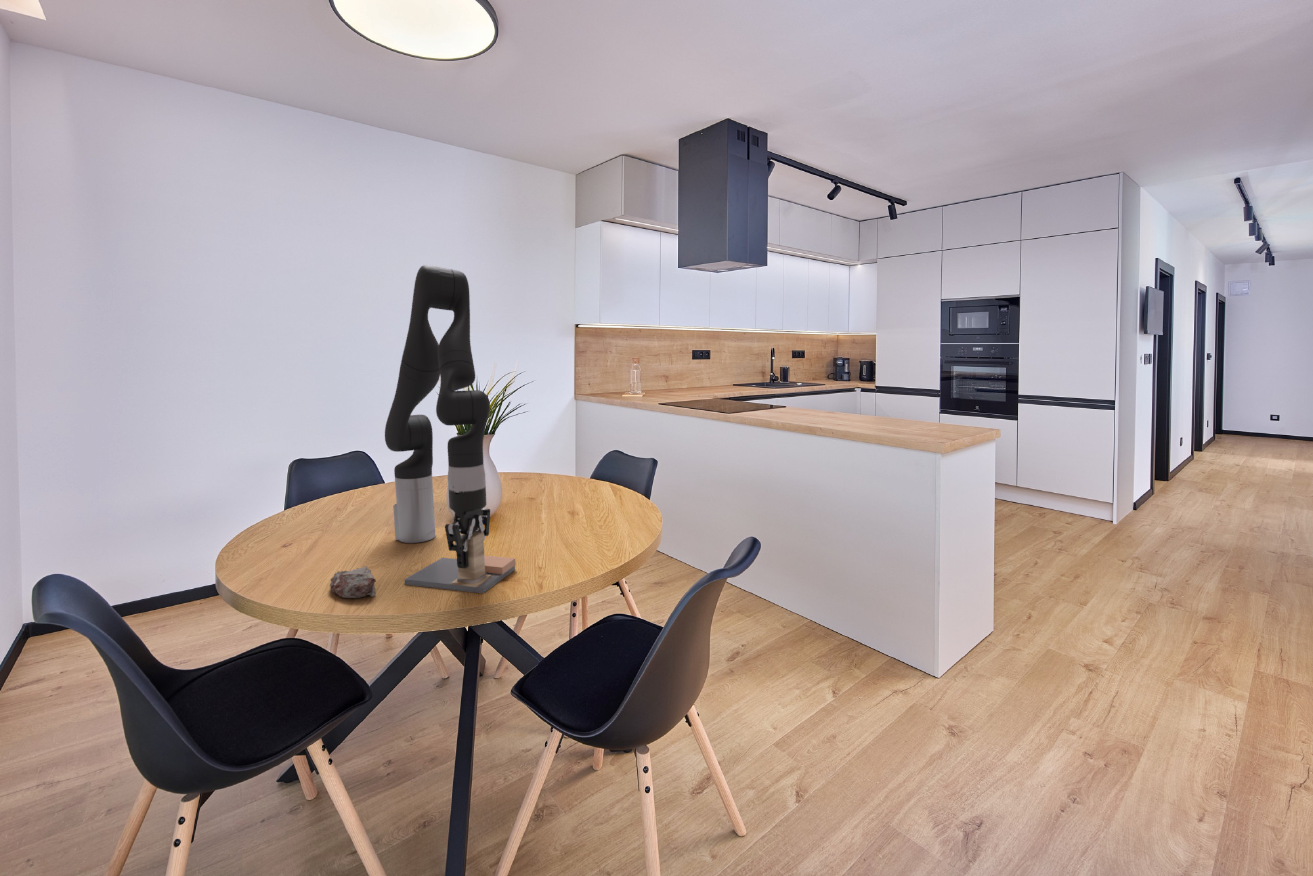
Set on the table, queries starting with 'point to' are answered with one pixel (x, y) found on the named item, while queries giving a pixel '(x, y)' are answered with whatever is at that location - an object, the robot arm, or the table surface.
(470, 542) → the block
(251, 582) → the table surface
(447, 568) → the slate board
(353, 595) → the mineral rock
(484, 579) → the cork pad
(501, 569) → the tile
